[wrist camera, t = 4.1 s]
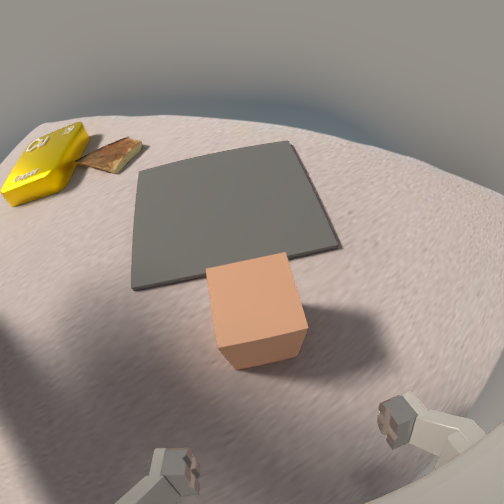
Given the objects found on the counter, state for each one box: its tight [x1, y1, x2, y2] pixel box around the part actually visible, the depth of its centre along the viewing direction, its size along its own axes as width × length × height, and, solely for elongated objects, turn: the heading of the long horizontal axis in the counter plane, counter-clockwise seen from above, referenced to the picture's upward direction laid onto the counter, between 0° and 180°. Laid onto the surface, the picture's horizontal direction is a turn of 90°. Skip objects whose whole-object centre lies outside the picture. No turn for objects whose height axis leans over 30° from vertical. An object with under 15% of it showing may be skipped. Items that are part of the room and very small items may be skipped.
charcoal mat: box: [131, 141, 338, 290], centre depth 31 cm, size 20×17×1 cm
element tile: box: [1, 122, 90, 207], centre depth 38 cm, size 15×15×5 cm
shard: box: [75, 137, 142, 174], centre depth 38 cm, size 11×8×2 cm
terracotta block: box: [206, 252, 308, 370], centre depth 19 cm, size 5×5×8 cm
